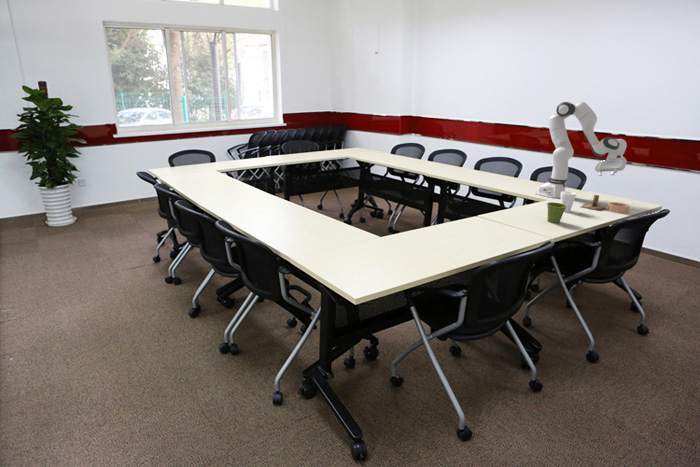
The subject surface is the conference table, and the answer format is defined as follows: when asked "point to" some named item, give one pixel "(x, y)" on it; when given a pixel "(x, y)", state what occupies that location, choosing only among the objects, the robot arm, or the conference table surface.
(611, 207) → the bowl
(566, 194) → the foam cup
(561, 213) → the plant pot
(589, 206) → the lid
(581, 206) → the mat
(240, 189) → the conference table surface
